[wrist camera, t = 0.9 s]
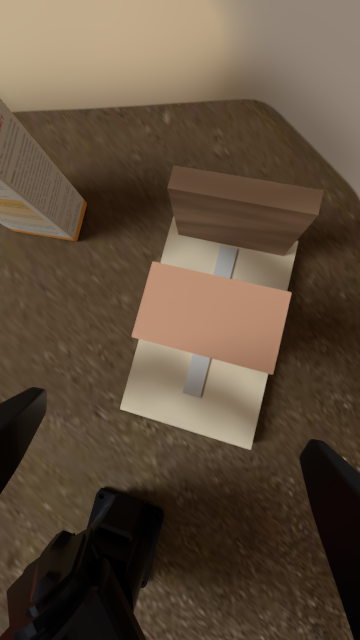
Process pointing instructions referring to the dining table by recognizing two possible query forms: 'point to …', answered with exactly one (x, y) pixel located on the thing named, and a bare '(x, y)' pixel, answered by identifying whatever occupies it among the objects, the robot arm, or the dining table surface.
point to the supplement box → (34, 186)
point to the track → (230, 262)
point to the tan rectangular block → (213, 316)
